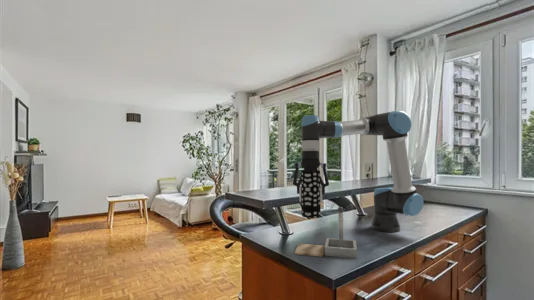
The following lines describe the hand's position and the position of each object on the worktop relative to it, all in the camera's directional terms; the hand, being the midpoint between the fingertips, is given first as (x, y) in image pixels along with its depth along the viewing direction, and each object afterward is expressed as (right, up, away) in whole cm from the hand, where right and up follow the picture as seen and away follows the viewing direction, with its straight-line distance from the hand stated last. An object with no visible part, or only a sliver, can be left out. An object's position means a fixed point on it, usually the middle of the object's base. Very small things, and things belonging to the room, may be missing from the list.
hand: (310, 201), depth 122 cm
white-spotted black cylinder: (0, -7, 0) cm, 7 cm away
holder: (+13, -22, 0) cm, 25 cm away
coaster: (0, -22, 0) cm, 22 cm away
